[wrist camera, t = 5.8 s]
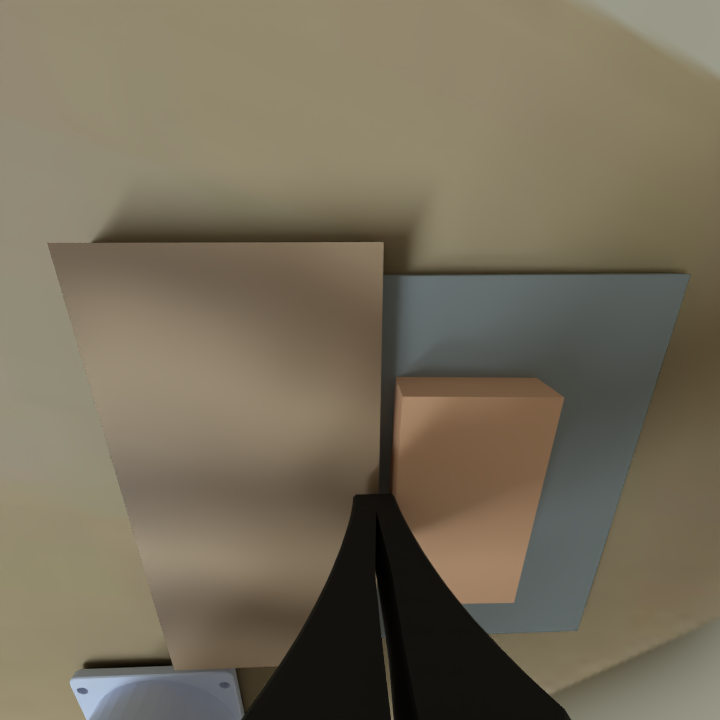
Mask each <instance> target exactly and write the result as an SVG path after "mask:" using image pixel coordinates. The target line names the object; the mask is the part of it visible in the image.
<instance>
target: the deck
mask: <svg viewBox="0 0 720 720" xmlns="http://www.w3.org/2000/svg"><path fill="white" fill-rule="evenodd" d="M48 247H49V250H50V253H51V257H52V260H53V263H54V267H55V270H56V274H57V277H58V280H59V284H60V287H61V290H62V294H63V297H64V301H65V304H66V307H67V311H68V314H69V317H70V321H71V324H72V328H73V331H74V334H75V338H76V341H77V344H78V348H79V351H80V354H81V358H82V361H83V365H84V368H85V371H86V375H87V378H88V381H89V385H90V388H91V392H92V395H93V398H94V402H95V405H96V408H97V412H98V415H99V418H100V422H101V425H102V429H103V432H104V435H105V439H106V442H107V445H108V449H109V452H110V456H111V459H112V462H113V466H114V469H115V472H116V476H117V479H118V482H119V486H120V489H121V493H122V496H123V499H124V503H125V506H126V509H127V513H128V516H129V520H130V523H131V526H132V530H133V533H134V536H135V540H136V543H137V546H138V550H139V553H140V557H141V560H142V563H143V567H144V570H145V573H146V577H147V580H148V584H149V587H150V590H151V594H152V597H153V600H154V604H155V607H156V610H157V614H158V617H159V621H160V624H161V627H162V631H163V634H164V637H165V641H166V644H167V648H168V651H169V654H170V658H171V661H172V664H173V668H174V670H199V669H225V668H252V667H278V666H279V665H280V663H281V661H282V660H283V658H284V657H285V655H286V654H287V652H288V650H289V649H290V647H291V646H292V644H293V643H294V641H295V639H296V638H297V636H298V634H299V633H300V631H301V629H302V627H303V626H304V624H305V622H306V620H307V618H308V617H309V615H310V613H311V611H312V609H313V607H314V606H315V604H316V602H317V600H318V598H319V596H320V594H321V592H322V590H323V588H324V586H325V583H326V581H327V579H328V577H329V575H330V572H331V570H332V568H333V565H334V563H335V560H336V558H337V555H338V553H339V550H340V548H341V545H342V542H343V539H344V536H345V533H346V530H347V526H348V523H349V519H350V515H351V510H352V504H353V497H354V496H355V495H356V494H379V456H380V405H381V354H382V303H383V251H384V242H231V243H48ZM375 573H376V572H375ZM376 586H377V579H376Z"/></svg>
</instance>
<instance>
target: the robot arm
mask: <svg viewBox="0 0 720 720" xmlns="http://www.w3.org/2000/svg"><path fill="white" fill-rule="evenodd" d="M375 572H376V573H375ZM376 579H377V585H378V592H379V598H380V605H381V611H382V618H383V624H384V631H385V637H386V643H387V650H388V659H389V667H390V679H391V691H392V704H393V716H394V720H571V719H570V717H569V716H568V714H567V712H566V711H565V709H564V708H563V707H562V706H560V705H559V704H558V703H557V702H556V701H555V700H554V699H553V698H552V697H551V696H549V695H548V694H547V693H546V692H545V691H544V690H543V689H542V688H541V687H540V686H539V685H538V684H536V683H535V682H534V681H533V680H532V679H531V678H530V677H529V676H528V675H527V674H526V673H525V672H524V671H523V670H522V669H521V668H520V667H519V666H518V665H517V664H516V663H515V662H514V661H513V660H512V659H511V658H510V657H509V656H508V655H507V654H506V653H505V652H504V651H503V650H502V649H501V648H500V647H499V646H498V645H497V644H496V643H495V641H494V640H493V639H492V638H491V637H490V636H489V635H488V634H487V633H486V632H485V631H484V629H483V628H482V627H481V626H480V625H479V624H478V623H477V622H476V621H475V620H474V618H473V617H472V616H471V615H470V614H469V613H468V611H467V610H466V609H465V608H464V606H463V605H462V604H461V603H460V602H459V600H458V599H457V598H456V597H455V595H454V594H453V593H452V591H451V590H450V589H449V588H448V586H447V585H446V584H445V582H444V581H443V580H442V578H441V577H440V575H439V574H438V573H437V571H436V570H435V568H434V567H433V565H432V564H431V562H430V561H429V559H428V558H427V556H426V555H425V553H424V552H423V550H422V548H421V547H420V545H419V543H418V542H417V540H416V538H415V537H414V535H413V533H412V532H411V530H410V528H409V526H408V524H407V522H406V520H405V519H404V517H403V515H402V513H401V511H400V508H399V506H398V504H397V501H396V499H395V496H394V495H393V494H356V495H355V496H354V497H353V504H352V510H351V515H350V519H349V523H348V526H347V530H346V533H345V536H344V539H343V542H342V545H341V548H340V550H339V553H338V555H337V558H336V560H335V563H334V565H333V568H332V570H331V572H330V575H329V577H328V579H327V581H326V583H325V586H324V588H323V590H322V592H321V594H320V596H319V598H318V600H317V602H316V604H315V606H314V607H313V609H312V611H311V613H310V615H309V617H308V618H307V620H306V622H305V624H304V626H303V627H302V629H301V631H300V633H299V634H298V636H297V638H296V639H295V641H294V643H293V644H292V646H291V647H290V649H289V650H288V652H287V654H286V655H285V657H284V658H283V660H282V661H281V663H280V665H279V666H278V668H277V669H276V671H275V672H274V674H273V675H272V677H271V678H270V680H269V681H268V683H267V684H266V685H265V687H264V688H263V690H262V691H261V692H260V694H259V695H258V697H257V698H256V699H255V701H254V702H253V704H252V705H251V706H250V708H249V709H248V711H247V712H246V713H245V714H244V709H243V704H242V699H241V694H240V689H239V684H238V679H237V674H236V670H235V668H225V669H199V670H174V668H173V666H152V667H125V668H98V669H81V670H78V671H76V672H75V674H74V675H73V677H72V678H71V680H70V685H71V688H72V690H73V692H74V694H75V696H76V698H77V700H78V702H79V705H80V707H81V709H82V711H83V713H84V715H85V717H86V719H87V720H391V716H390V707H389V699H388V690H387V682H386V673H385V664H384V655H383V646H382V637H381V627H380V617H379V607H378V597H377V586H376Z"/></svg>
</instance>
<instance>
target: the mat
mask: <svg viewBox="0 0 720 720" xmlns="http://www.w3.org/2000/svg"><path fill="white" fill-rule="evenodd" d="M690 275H691V274H681V273H601V274H423V275H383V303H382V354H381V405H380V456H379V494H389V483H390V466H391V449H392V432H393V415H394V398H395V381H396V377H493V378H538V379H539V380H541V381H542V382H544V383H545V384H546V385H548V386H549V387H551V388H552V389H553V390H555V391H556V392H558V393H559V394H560V395H562V396H563V397H564V401H563V405H562V409H561V413H560V417H559V422H558V426H557V430H556V434H555V438H554V442H553V446H552V450H551V454H550V458H549V462H548V466H547V470H546V474H545V478H544V483H543V487H542V491H541V495H540V499H539V503H538V507H537V511H536V515H535V519H534V523H533V527H532V531H531V535H530V539H529V544H528V548H527V552H526V556H525V560H524V564H523V568H522V572H521V576H520V580H519V584H518V588H517V592H516V596H515V601H514V603H477V604H462V605H463V606H464V608H465V609H466V610H467V611H468V613H469V614H470V615H471V616H472V617H473V618H474V620H475V621H476V622H477V623H478V624H479V625H480V626H481V627H482V628H483V629H484V631H485V632H486V633H487V634H503V633H531V632H559V631H577V630H578V627H579V624H580V621H581V618H582V615H583V611H584V608H585V605H586V602H587V599H588V596H589V593H590V589H591V586H592V583H593V580H594V577H595V574H596V571H597V567H598V564H599V561H600V558H601V555H602V552H603V549H604V545H605V542H606V539H607V536H608V533H609V530H610V527H611V523H612V520H613V517H614V514H615V511H616V508H617V504H618V501H619V498H620V495H621V492H622V489H623V486H624V482H625V479H626V476H627V473H628V470H629V467H630V464H631V460H632V457H633V454H634V451H635V448H636V445H637V442H638V438H639V435H640V432H641V429H642V426H643V423H644V420H645V416H646V413H647V410H648V407H649V404H650V401H651V398H652V394H653V391H654V388H655V385H656V382H657V379H658V375H659V372H660V369H661V366H662V363H663V360H664V357H665V353H666V350H667V347H668V344H669V341H670V338H671V335H672V331H673V328H674V325H675V322H676V319H677V316H678V313H679V309H680V306H681V303H682V300H683V297H684V294H685V291H686V287H687V284H688V281H689V278H690ZM377 597H378V607H379V617H380V627H381V637H382V638H386V637H385V631H384V624H383V618H382V611H381V605H380V598H379V592H378V585H377Z"/></svg>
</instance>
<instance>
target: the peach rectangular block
mask: <svg viewBox="0 0 720 720" xmlns="http://www.w3.org/2000/svg"><path fill="white" fill-rule="evenodd" d="M563 401H564V397H563V396H562V395H560V394H559V393H558V392H556V391H555V390H553V389H552V388H551V387H549V386H548V385H546V384H545V383H544V382H542V381H541V380H539V379H538V378H493V377H396V381H395V398H394V415H393V432H392V449H391V466H390V483H389V494H393V495H394V496H395V499H396V501H397V504H398V506H399V508H400V511H401V513H402V515H403V517H404V519H405V520H406V522H407V524H408V526H409V528H410V530H411V532H412V533H413V535H414V537H415V538H416V540H417V542H418V543H419V545H420V547H421V548H422V550H423V552H424V553H425V555H426V556H427V558H428V559H429V561H430V562H431V564H432V565H433V567H434V568H435V570H436V571H437V573H438V574H439V575H440V577H441V578H442V580H443V581H444V582H445V584H446V585H447V586H448V588H449V589H450V590H451V591H452V593H453V594H454V595H455V597H456V598H457V599H458V600H459V602H460V603H461V604H477V603H514V601H515V596H516V592H517V588H518V584H519V580H520V576H521V572H522V568H523V564H524V560H525V556H526V552H527V548H528V544H529V539H530V535H531V531H532V527H533V523H534V519H535V515H536V511H537V507H538V503H539V499H540V495H541V491H542V487H543V483H544V478H545V474H546V470H547V466H548V462H549V458H550V454H551V450H552V446H553V442H554V438H555V434H556V430H557V426H558V422H559V417H560V413H561V409H562V405H563Z"/></svg>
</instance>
